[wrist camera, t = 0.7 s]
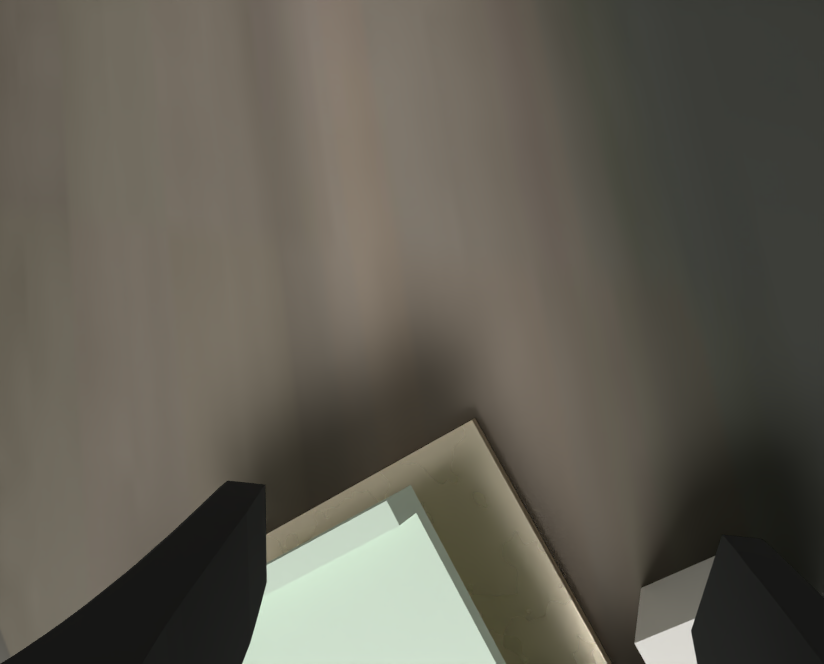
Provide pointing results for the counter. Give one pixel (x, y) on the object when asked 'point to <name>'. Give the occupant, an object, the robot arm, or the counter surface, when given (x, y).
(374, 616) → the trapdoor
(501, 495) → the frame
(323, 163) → the counter surface
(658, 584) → the white rectangular block
